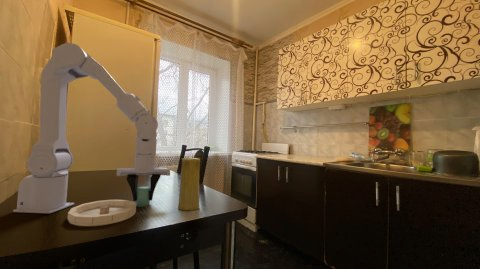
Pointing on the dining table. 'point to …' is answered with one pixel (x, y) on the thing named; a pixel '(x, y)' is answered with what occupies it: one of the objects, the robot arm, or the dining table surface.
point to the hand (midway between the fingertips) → (143, 199)
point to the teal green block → (143, 196)
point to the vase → (189, 184)
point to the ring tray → (101, 212)
